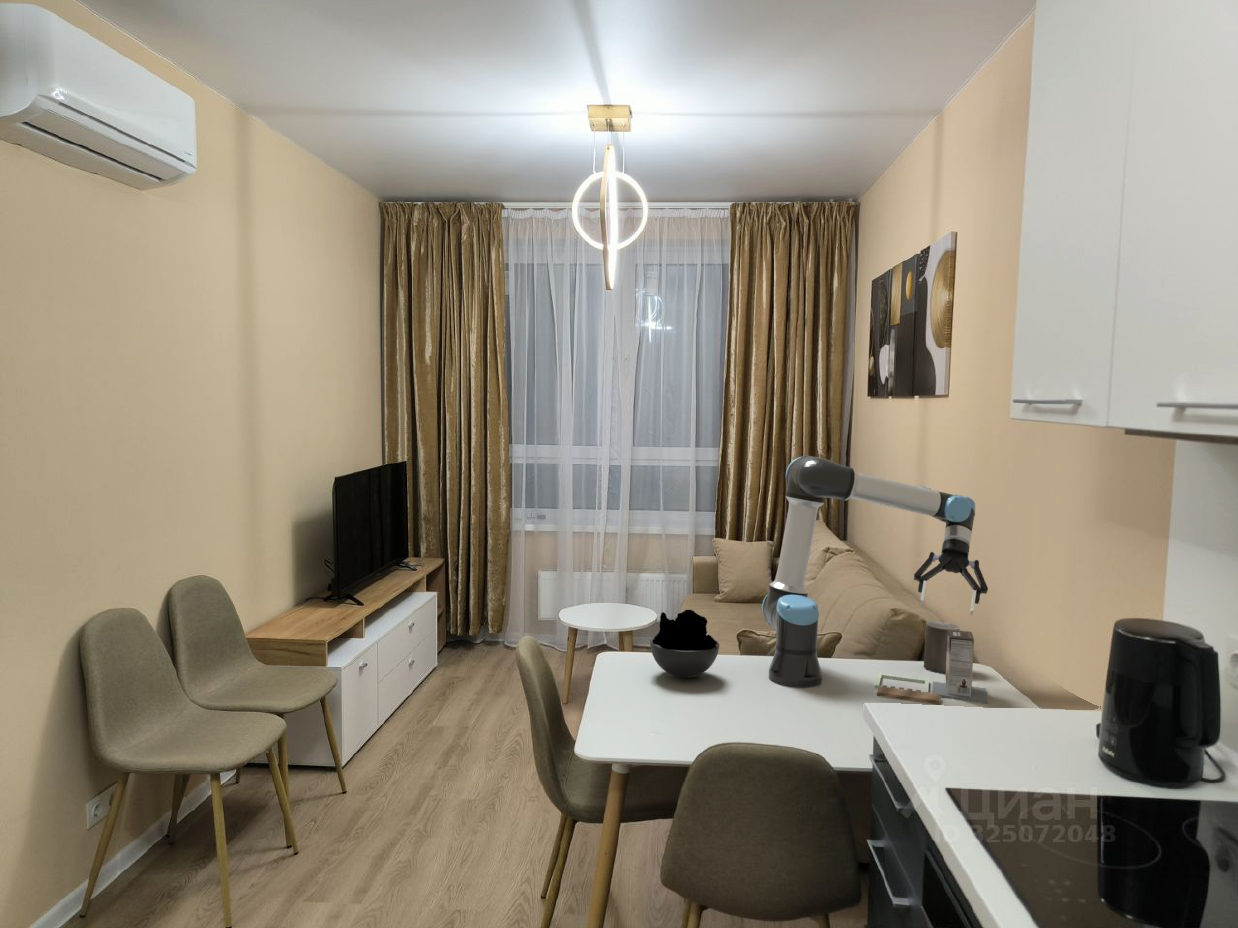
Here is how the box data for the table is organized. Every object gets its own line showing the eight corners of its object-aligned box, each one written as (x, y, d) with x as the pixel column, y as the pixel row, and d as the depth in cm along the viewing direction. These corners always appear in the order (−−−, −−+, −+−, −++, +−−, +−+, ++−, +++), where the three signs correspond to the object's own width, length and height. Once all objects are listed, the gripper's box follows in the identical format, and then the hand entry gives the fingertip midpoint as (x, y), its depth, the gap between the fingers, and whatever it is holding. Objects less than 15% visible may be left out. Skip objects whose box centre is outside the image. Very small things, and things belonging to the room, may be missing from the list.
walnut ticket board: (876, 695, 220) (876, 692, 220) (878, 689, 225) (878, 685, 225) (939, 704, 214) (939, 700, 214) (939, 697, 219) (939, 694, 219)
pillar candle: (919, 669, 246) (922, 621, 245) (927, 662, 254) (930, 615, 253) (953, 676, 240) (956, 626, 239) (960, 668, 248) (963, 620, 247)
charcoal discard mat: (931, 695, 221) (932, 693, 221) (932, 683, 232) (932, 681, 232) (987, 703, 216) (987, 701, 216) (985, 690, 227) (985, 688, 227)
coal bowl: (722, 669, 240) (724, 607, 239) (712, 690, 221) (715, 622, 220) (657, 663, 245) (659, 602, 244) (642, 682, 226) (643, 616, 225)
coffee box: (944, 684, 230) (947, 628, 229) (968, 687, 228) (971, 631, 227) (947, 694, 221) (949, 636, 220) (972, 697, 219) (975, 639, 218)
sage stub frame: (875, 687, 227) (875, 684, 227) (878, 675, 238) (878, 673, 238) (928, 695, 222) (928, 692, 221) (928, 682, 233) (928, 679, 233)
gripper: (1000, 557, 241) (991, 622, 231) (912, 541, 250) (901, 603, 241) (1003, 545, 235) (994, 611, 225) (913, 530, 244) (901, 593, 235)
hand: (946, 607), depth 233 cm, fingers open, 13 cm apart
